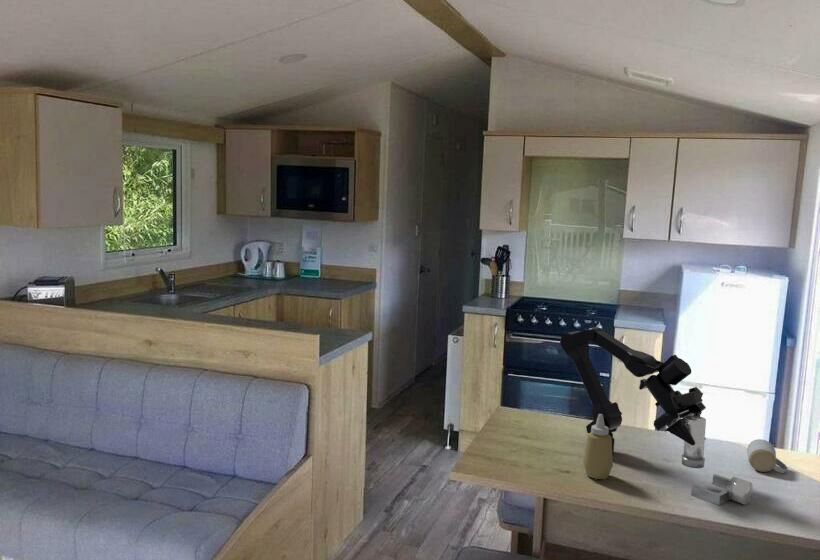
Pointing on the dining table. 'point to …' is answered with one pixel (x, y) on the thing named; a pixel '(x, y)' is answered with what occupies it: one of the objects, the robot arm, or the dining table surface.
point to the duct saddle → (734, 490)
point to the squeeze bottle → (598, 451)
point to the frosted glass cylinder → (695, 453)
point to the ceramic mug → (764, 457)
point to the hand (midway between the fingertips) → (699, 442)
